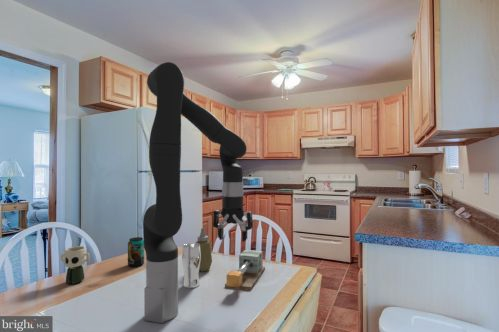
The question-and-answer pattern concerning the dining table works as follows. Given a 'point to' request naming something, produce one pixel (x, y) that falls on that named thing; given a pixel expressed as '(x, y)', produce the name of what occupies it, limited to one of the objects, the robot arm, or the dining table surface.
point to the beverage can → (136, 252)
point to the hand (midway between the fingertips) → (232, 240)
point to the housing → (250, 269)
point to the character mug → (75, 263)
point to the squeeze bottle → (204, 251)
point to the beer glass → (191, 264)
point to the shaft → (237, 275)
